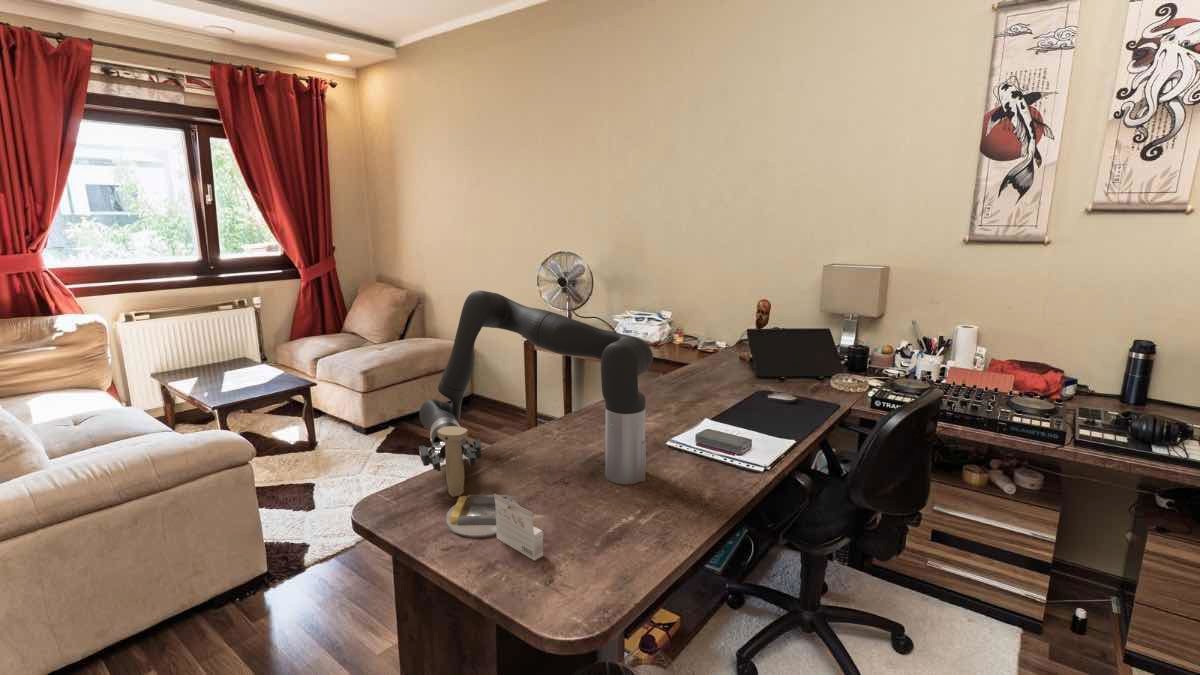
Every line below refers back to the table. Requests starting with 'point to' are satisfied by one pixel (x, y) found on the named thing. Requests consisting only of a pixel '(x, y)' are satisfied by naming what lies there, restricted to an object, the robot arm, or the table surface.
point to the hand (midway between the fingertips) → (455, 464)
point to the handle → (454, 458)
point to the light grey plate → (475, 515)
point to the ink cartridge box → (518, 528)
